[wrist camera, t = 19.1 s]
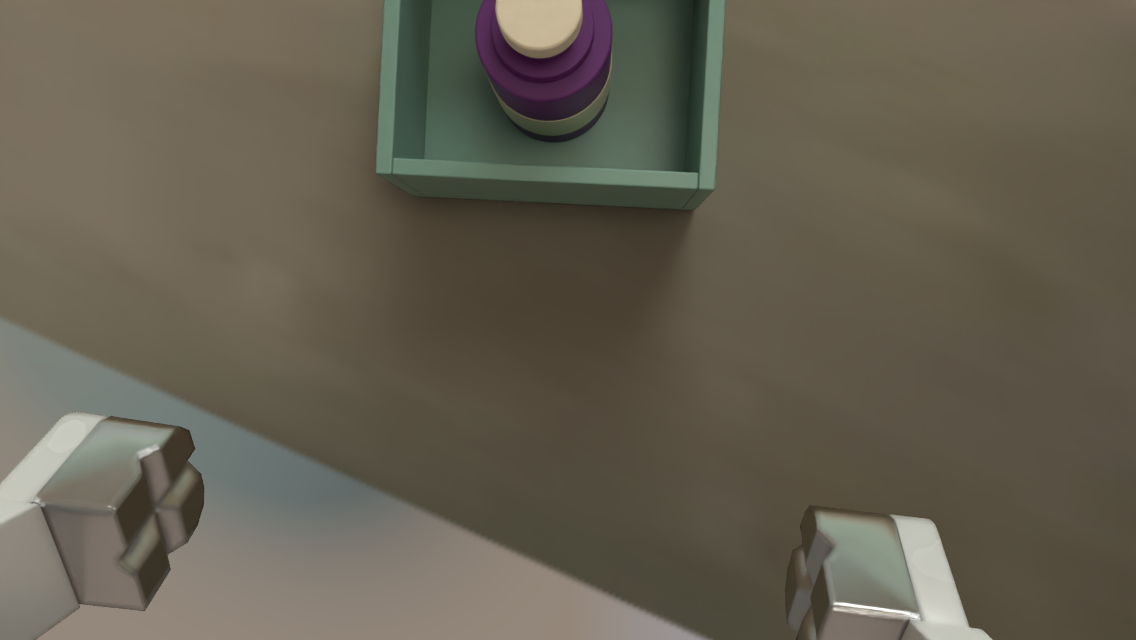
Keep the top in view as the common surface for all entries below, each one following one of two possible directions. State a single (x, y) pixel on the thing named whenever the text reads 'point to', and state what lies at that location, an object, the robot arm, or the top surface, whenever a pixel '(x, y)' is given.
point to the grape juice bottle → (547, 63)
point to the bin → (553, 169)
